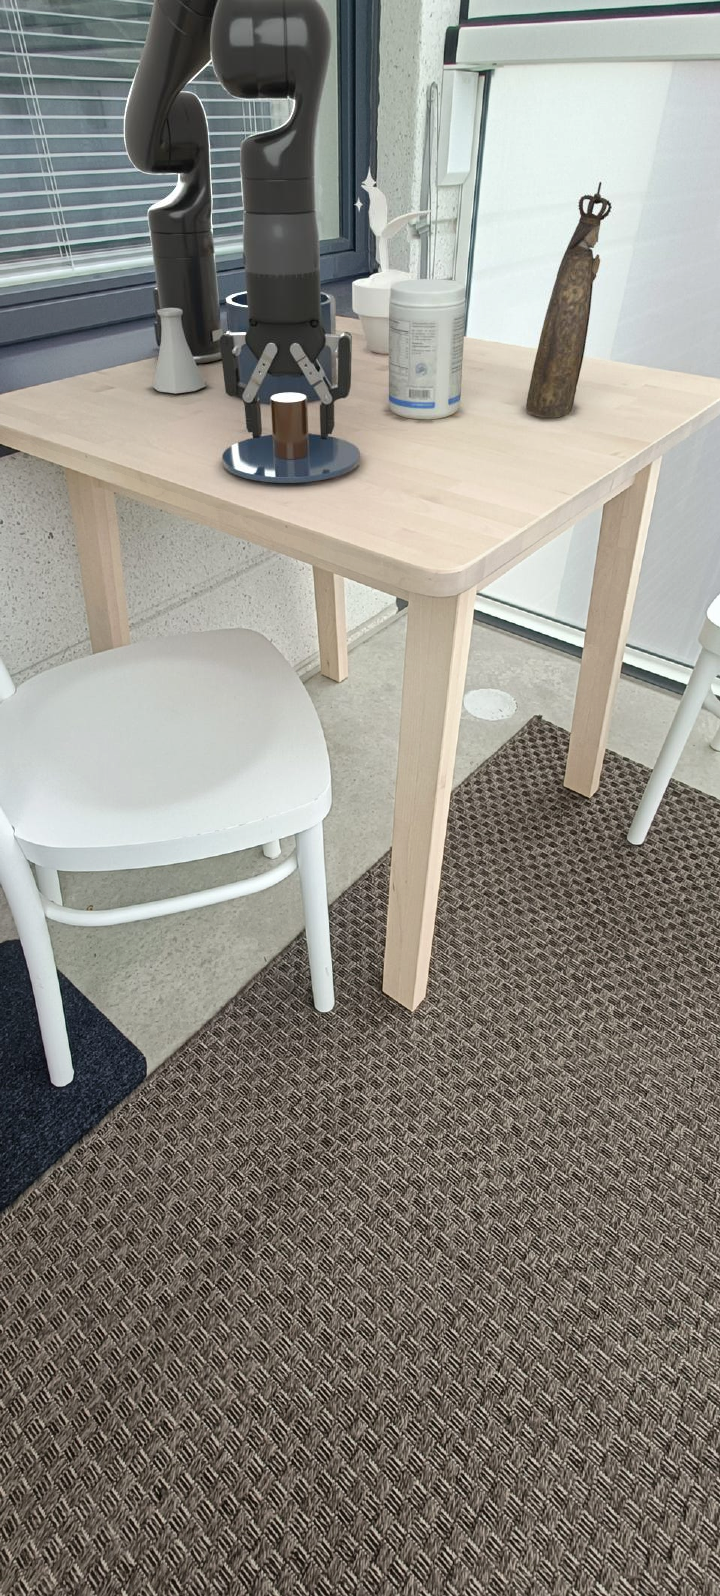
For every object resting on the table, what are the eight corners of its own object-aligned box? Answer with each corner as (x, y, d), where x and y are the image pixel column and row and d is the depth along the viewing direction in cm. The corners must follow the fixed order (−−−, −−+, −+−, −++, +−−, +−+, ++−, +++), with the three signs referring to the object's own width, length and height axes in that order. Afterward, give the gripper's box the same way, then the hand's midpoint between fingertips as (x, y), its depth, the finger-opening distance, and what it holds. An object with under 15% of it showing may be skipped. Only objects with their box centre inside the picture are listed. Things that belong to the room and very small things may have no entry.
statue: (589, 417, 114) (626, 184, 98) (534, 421, 113) (562, 185, 97) (564, 400, 120) (595, 178, 105) (512, 402, 119) (535, 179, 104)
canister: (212, 393, 123) (202, 301, 116) (277, 372, 133) (272, 285, 125) (293, 409, 117) (289, 313, 110) (355, 386, 126) (355, 295, 119)
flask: (143, 388, 125) (132, 310, 119) (183, 379, 129) (174, 303, 123) (174, 398, 121) (164, 317, 115) (215, 388, 126) (207, 309, 119)
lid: (194, 470, 98) (186, 402, 93) (281, 435, 108) (278, 372, 103) (304, 499, 91) (301, 426, 86) (386, 459, 101) (387, 392, 96)
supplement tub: (433, 398, 121) (439, 276, 112) (474, 414, 115) (483, 286, 106) (373, 407, 117) (374, 282, 108) (412, 425, 111) (417, 294, 102)
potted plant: (338, 352, 143) (335, 164, 127) (378, 339, 150) (379, 160, 135) (403, 363, 137) (408, 167, 122) (441, 349, 145) (450, 163, 129)
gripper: (357, 260, 90) (357, 428, 100) (219, 259, 91) (234, 425, 101) (350, 272, 84) (351, 449, 94) (203, 270, 85) (220, 446, 95)
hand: (290, 436), depth 97 cm, fingers open, 7 cm apart
